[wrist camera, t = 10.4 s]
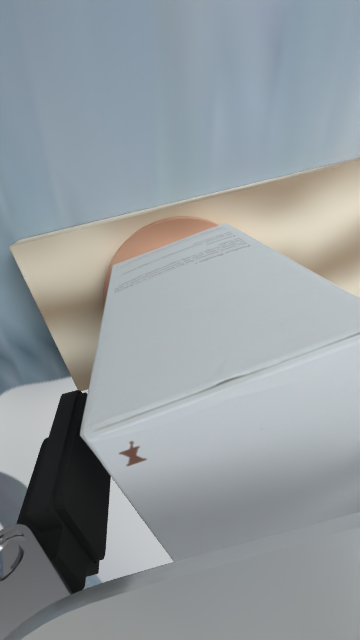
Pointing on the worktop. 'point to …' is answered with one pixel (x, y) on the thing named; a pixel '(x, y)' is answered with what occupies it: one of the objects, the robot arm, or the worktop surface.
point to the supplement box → (226, 392)
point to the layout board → (180, 222)
